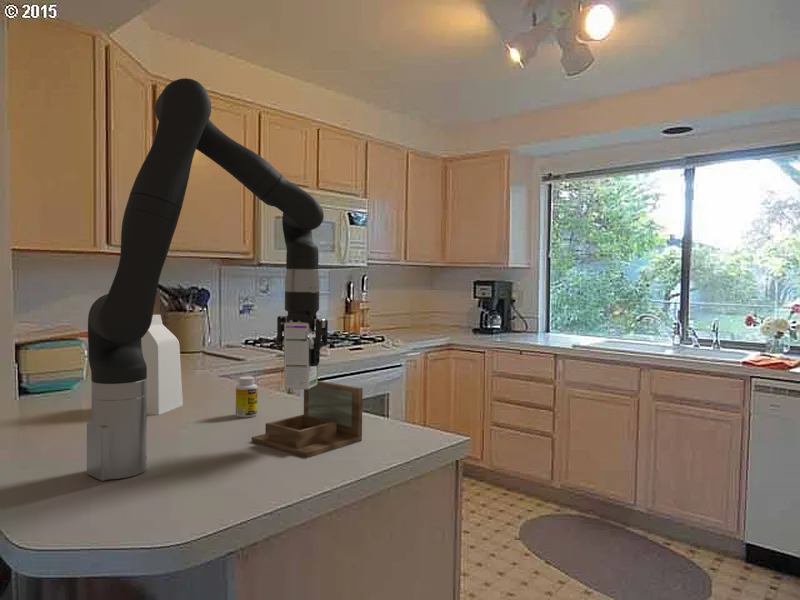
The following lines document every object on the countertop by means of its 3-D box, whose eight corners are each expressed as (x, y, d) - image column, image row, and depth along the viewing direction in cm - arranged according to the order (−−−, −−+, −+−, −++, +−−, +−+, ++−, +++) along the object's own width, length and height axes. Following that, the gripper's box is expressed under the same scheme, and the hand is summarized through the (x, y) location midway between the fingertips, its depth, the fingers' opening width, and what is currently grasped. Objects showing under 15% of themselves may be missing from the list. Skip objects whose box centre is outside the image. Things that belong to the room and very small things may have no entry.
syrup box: (308, 389, 124) (309, 322, 123) (283, 388, 125) (284, 321, 124) (317, 385, 129) (318, 321, 129) (293, 383, 130) (294, 320, 130)
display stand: (307, 457, 117) (307, 399, 116) (251, 441, 128) (252, 388, 127) (361, 440, 130) (362, 388, 130) (307, 427, 141) (307, 378, 141)
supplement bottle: (248, 419, 148) (248, 379, 148) (231, 416, 151) (231, 378, 150) (261, 414, 154) (261, 376, 153) (244, 412, 156) (245, 375, 155)
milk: (158, 414, 152) (159, 316, 151) (119, 412, 154) (119, 315, 153) (182, 405, 164) (183, 314, 163) (145, 403, 165) (146, 313, 165)
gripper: (267, 289, 128) (267, 362, 128) (312, 290, 119) (311, 369, 119) (293, 289, 134) (292, 359, 134) (337, 290, 125) (336, 365, 125)
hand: (301, 364), depth 127 cm, fingers closed on syrup box, 7 cm apart
